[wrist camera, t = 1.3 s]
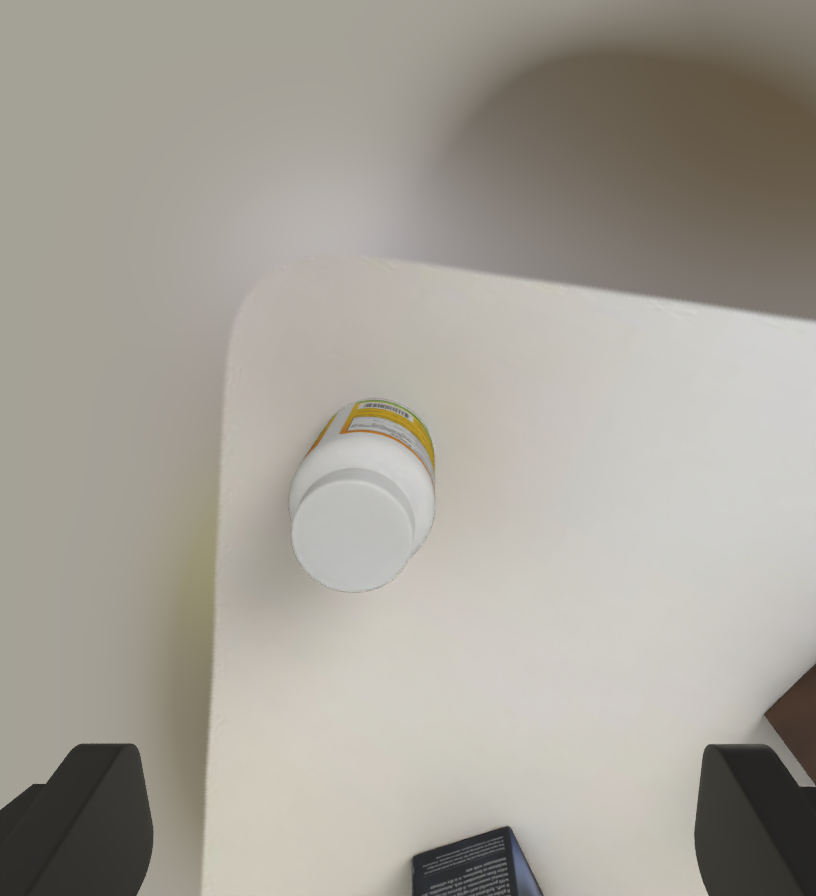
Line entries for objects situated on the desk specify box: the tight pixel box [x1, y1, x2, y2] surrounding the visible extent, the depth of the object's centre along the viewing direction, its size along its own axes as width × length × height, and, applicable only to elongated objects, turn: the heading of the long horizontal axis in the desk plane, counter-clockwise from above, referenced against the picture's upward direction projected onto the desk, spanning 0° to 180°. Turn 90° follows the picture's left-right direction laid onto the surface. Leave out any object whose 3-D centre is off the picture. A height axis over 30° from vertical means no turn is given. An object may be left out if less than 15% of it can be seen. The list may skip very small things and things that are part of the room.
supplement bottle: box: [289, 399, 435, 593], centre depth 25 cm, size 5×5×10 cm
